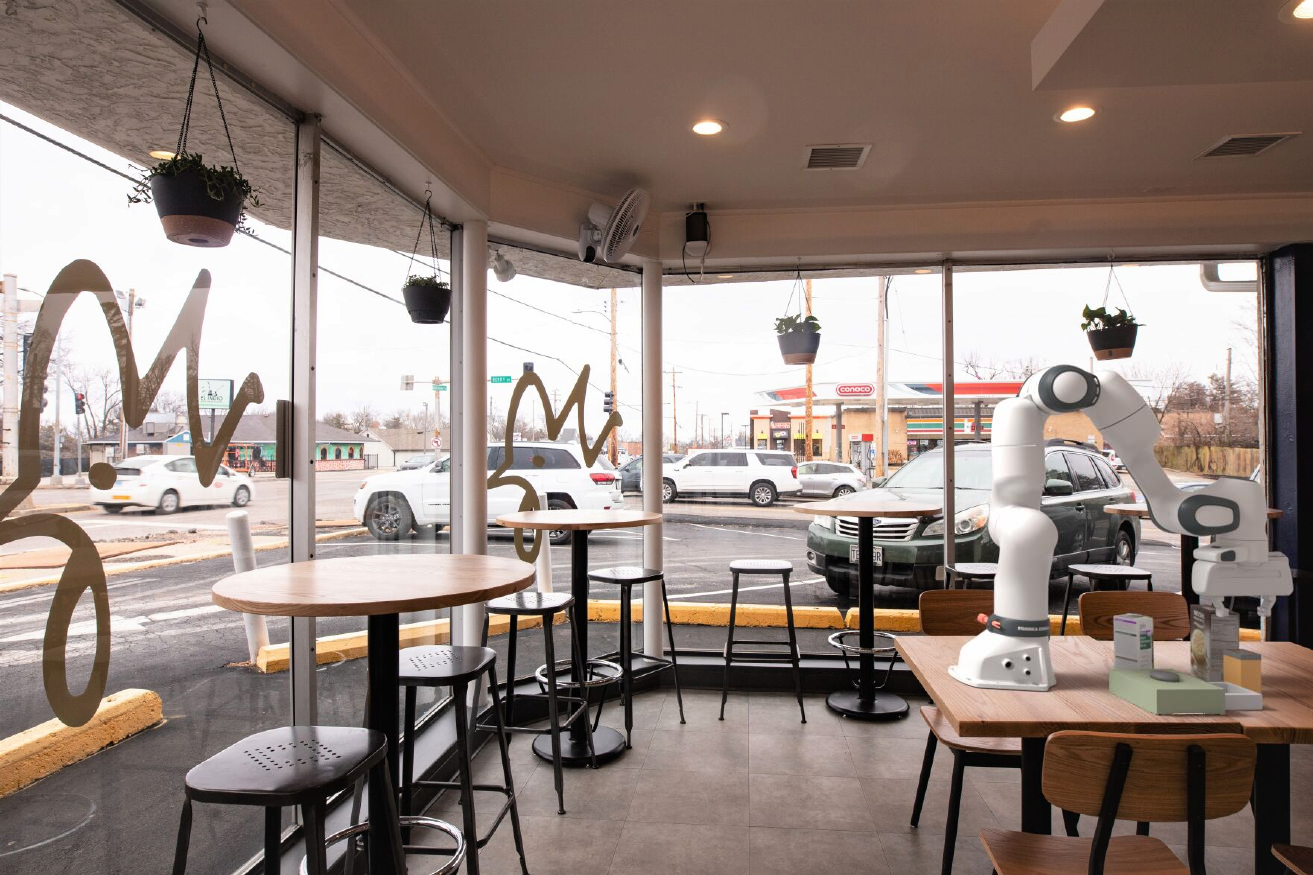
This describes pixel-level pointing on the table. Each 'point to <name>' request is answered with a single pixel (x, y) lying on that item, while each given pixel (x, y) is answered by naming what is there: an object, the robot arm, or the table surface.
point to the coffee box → (1211, 641)
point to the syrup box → (1133, 642)
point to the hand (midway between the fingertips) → (1243, 616)
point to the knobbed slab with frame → (1179, 692)
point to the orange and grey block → (1243, 668)
